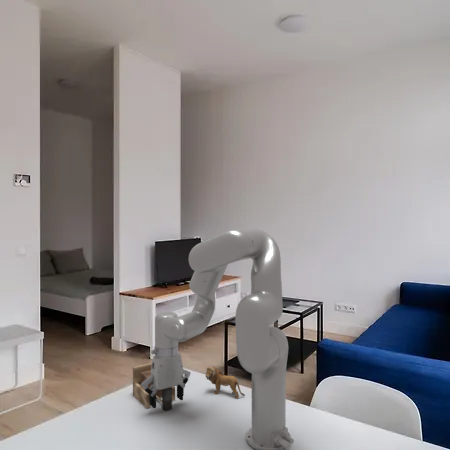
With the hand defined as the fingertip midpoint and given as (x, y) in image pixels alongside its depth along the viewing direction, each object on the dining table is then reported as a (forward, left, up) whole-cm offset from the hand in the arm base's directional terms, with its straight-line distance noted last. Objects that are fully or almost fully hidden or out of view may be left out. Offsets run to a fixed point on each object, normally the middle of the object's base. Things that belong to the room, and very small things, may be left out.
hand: (166, 402), depth 131 cm
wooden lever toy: (+6, 0, -2) cm, 7 cm away
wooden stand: (+10, 0, -2) cm, 10 cm away
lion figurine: (-2, -22, -2) cm, 22 cm away
